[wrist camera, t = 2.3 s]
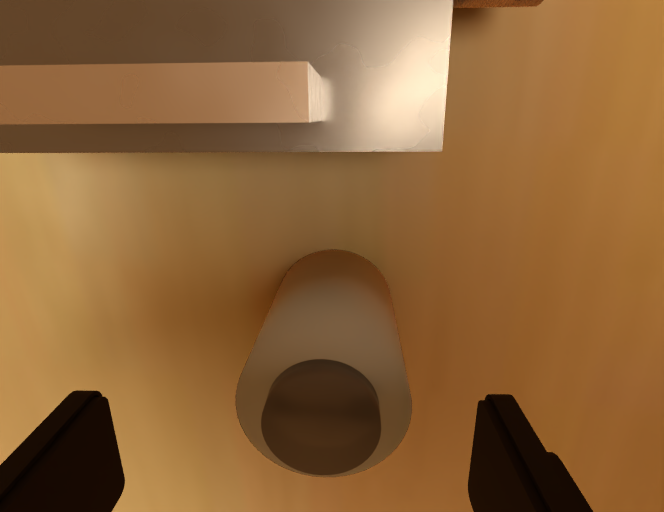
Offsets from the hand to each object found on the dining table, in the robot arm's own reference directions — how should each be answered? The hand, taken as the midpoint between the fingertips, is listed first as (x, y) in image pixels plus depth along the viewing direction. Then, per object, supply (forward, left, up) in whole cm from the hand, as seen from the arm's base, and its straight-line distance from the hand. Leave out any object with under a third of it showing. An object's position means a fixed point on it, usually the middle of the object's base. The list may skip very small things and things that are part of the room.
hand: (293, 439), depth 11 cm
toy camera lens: (-1, 0, -8) cm, 8 cm away
